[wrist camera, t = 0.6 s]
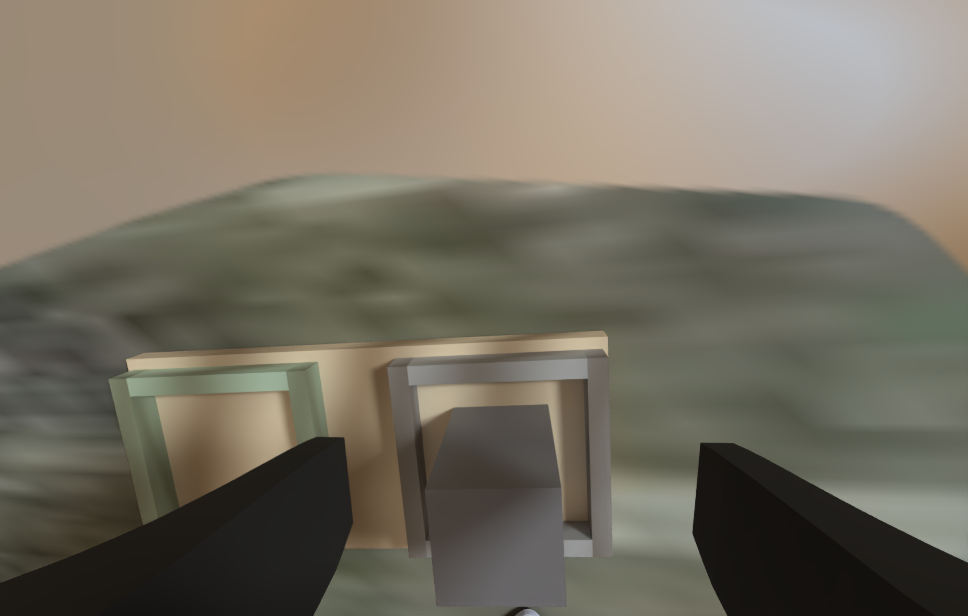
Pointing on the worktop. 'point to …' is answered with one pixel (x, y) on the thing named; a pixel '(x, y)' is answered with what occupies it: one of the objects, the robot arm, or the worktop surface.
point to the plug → (497, 510)
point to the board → (366, 421)
